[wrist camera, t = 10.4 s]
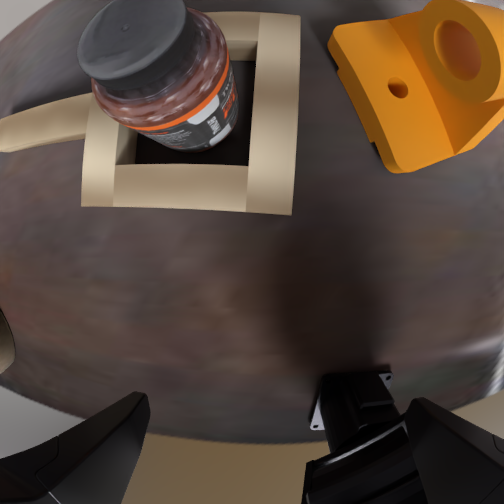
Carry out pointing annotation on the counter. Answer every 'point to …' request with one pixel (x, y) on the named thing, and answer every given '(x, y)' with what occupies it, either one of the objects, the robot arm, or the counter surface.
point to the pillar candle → (5, 345)
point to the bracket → (425, 80)
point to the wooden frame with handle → (188, 175)
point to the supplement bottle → (161, 72)
